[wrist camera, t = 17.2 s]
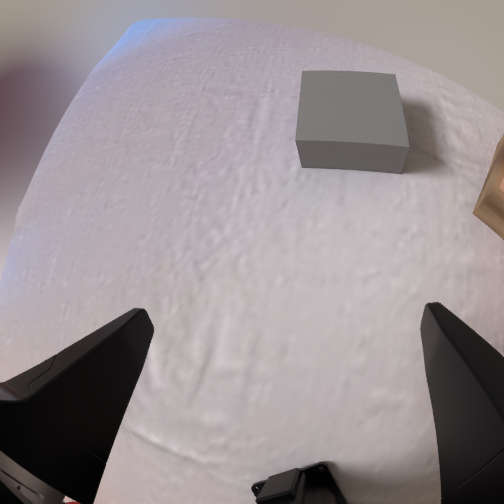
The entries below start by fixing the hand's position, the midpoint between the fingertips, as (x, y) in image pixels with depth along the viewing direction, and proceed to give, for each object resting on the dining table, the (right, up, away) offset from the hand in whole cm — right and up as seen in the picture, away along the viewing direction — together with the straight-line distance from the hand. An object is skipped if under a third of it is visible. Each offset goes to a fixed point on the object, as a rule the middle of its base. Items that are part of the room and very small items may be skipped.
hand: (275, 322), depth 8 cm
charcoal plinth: (+9, +14, +16) cm, 23 cm away
